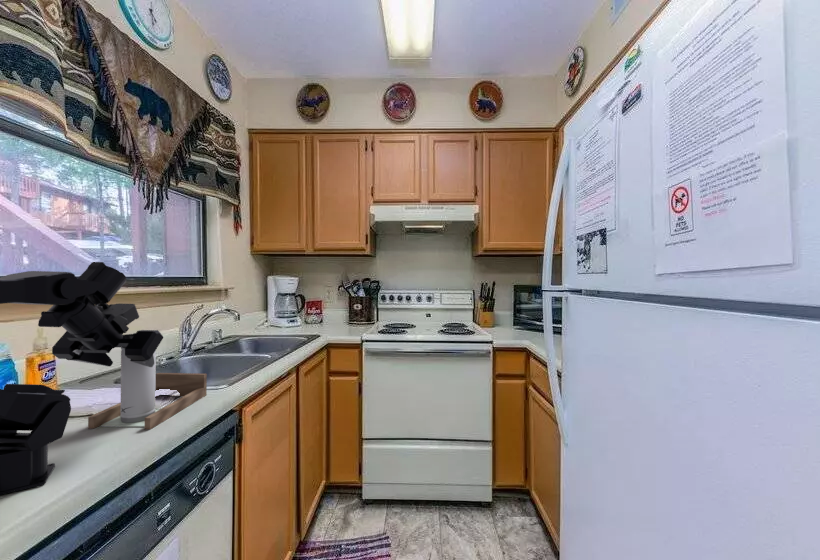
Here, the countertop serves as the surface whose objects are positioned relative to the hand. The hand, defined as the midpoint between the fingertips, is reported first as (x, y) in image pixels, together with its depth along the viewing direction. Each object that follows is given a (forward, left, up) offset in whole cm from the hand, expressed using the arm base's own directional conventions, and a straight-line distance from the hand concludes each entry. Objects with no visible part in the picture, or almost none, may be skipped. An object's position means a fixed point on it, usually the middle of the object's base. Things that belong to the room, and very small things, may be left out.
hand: (131, 364), depth 76 cm
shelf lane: (+6, -4, -13) cm, 15 cm away
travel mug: (+1, -1, -13) cm, 13 cm away
